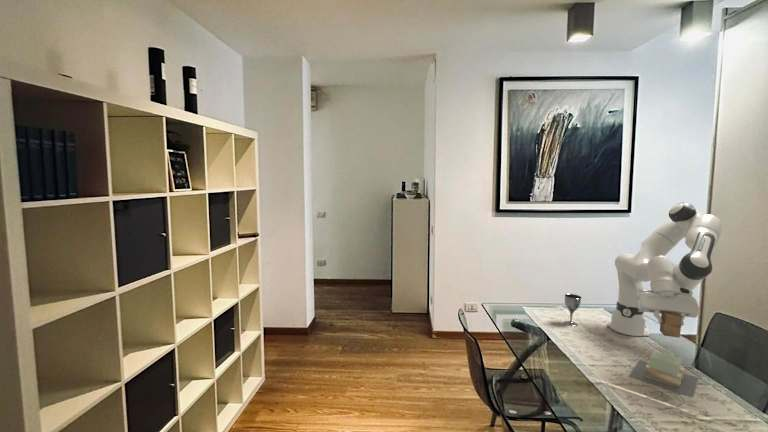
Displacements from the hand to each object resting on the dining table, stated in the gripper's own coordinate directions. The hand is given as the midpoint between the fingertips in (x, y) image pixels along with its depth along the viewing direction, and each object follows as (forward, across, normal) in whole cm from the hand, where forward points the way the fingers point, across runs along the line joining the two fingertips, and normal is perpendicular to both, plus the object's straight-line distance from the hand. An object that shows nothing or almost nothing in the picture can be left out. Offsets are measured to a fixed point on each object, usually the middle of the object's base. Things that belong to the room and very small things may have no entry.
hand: (671, 323), depth 152 cm
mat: (+16, 0, +16) cm, 23 cm away
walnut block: (+3, 0, +3) cm, 4 cm away
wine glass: (-20, -26, +53) cm, 62 cm away
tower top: (+12, 0, +13) cm, 18 cm away
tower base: (+15, 0, +16) cm, 22 cm away
